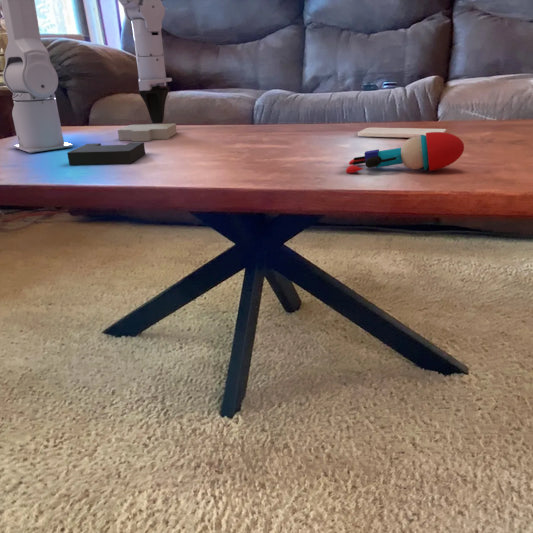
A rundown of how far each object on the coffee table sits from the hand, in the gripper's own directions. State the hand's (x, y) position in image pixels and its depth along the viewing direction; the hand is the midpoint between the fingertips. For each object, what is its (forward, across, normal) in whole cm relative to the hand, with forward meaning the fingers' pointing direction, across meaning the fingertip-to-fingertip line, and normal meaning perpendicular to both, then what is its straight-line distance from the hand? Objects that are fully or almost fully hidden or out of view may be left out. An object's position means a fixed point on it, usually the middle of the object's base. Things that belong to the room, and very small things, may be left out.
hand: (157, 122), depth 112 cm
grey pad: (+2, -8, 0) cm, 8 cm away
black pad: (+2, -32, 0) cm, 32 cm away
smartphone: (+2, -16, -50) cm, 53 cm away
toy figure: (+2, -45, -45) cm, 64 cm away
